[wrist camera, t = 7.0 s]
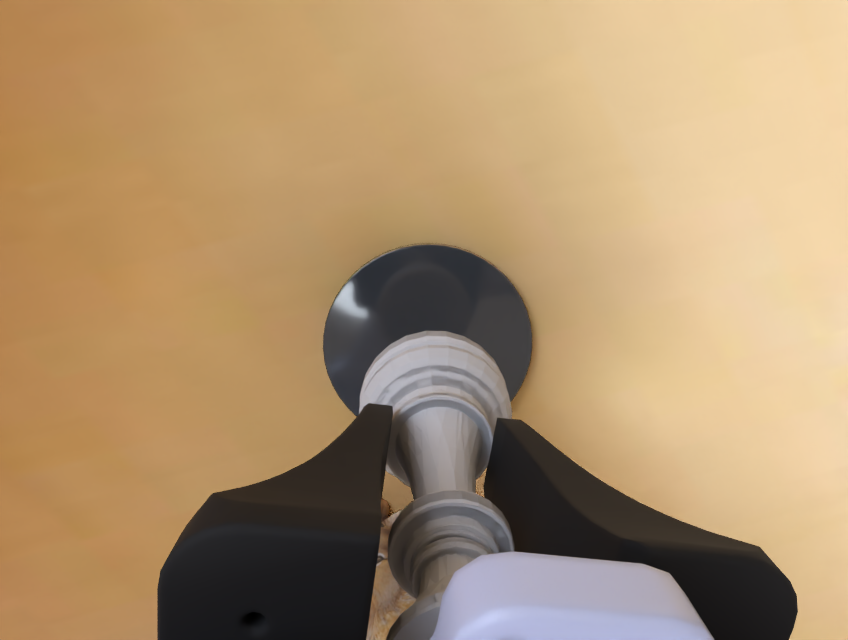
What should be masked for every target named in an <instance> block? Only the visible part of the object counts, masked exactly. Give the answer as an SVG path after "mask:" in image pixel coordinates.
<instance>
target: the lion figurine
mask: <svg viewBox="0 0 848 640" xmlns="http://www.w3.org/2000/svg"><path fill="white" fill-rule="evenodd" d="M401 511H402V510H400V511H398V512H396V513H394V514H392V515H391V516H390V517H388V513H389V505H388V503H387V501H385V500H383V499H382V498H381V516H382V518H381V534H380V544H379V551H378V558H377V565H376V573H375V580H374V587H373V594H372V601H371V609H370V616H369V623H368V630H367V637H366V640H386V638H387V635H388V632H389V629H390V628H391V627H392V625H393V624H394V623H395V621H396V620H397V619H398V617H399V616H400V615H401V613H403V612H404V611H405V610H407V609H408V608H409V607H410V606H412V605H413V604H414V602H415V601H416V600H417V599H415V598H413V597H412V596H410V595H409V594H408V593H407V592H406V591H404V590H403V589H402V588H401V587H400V586H399V584H398V583H397V581H396V580H395V578H394V577H393V575H392V573H391V570H390V567H389V563H388V537H389V534H390V530H391V527H392V524H393V523H394V521H395V520H396V518H397V517H398V515H399V514H400V512H401Z"/></svg>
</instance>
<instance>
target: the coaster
mask: <svg viewBox="0 0 848 640" xmlns="http://www.w3.org/2000/svg"><path fill="white" fill-rule="evenodd" d="M423 331H447V332H450V333H454V334H458V335H461V336H464V337H466V338H468V339H470V340H471V341H473V342H475V343H477V344H478V345H480V346H481V347H482V348H483V349H484V350H485V351H486V352H487V353H488V354H489V355H490V356H491V357H492V358H493V359H494V360H495V362H496V364H497V366H498V368H499V370H500V372H501V373H502V375H503V378H504V380H505V383H506V388H507V391H508V394H509V399H510V402H511V401H512V399H513V398H514V397H515V395H516V394H517V392H518V390H519V389H520V387H521V385H522V383H523V381H524V379H525V376H526V374H527V371H528V367H529V364H530V359H531V352H532V331H531V324H530V320H529V316H528V313H527V309H526V307H525V305H524V303H523V300H522V298H521V297H520V295H519V293H518V292H517V290H516V288H515V287H514V286H513V284H512V283H511V282H510V281H509V280H508V278H507V277H506V276H505V275H504V274H503V273H502V272H501V271H500V270H499V269H498V268H497V267H495V266H494V265H493V264H491V263H490V262H489V261H487V260H486V259H484V258H483V257H481V256H479V255H477V254H475V253H473V252H471V251H468V250H465V249H462V248H459V247H456V246H451V245H446V244H436V243H422V244H412V245H407V246H402V247H398V248H395V249H392V250H389V251H387V252H385V253H383V254H381V255H379V256H377V257H375V258H373V259H372V260H370V261H369V262H367V263H366V264H364V265H363V266H361V267H360V268H359V269H358V270H357V271H356V272H355V273H354V274H352V276H351V277H350V278H349V279H348V280H347V281H346V282H345V284H344V285H343V286H342V288H341V289H340V291H339V293H338V294H337V296H336V297H335V300H334V302H333V304H332V306H331V308H330V310H329V313H328V317H327V320H326V323H325V329H324V335H323V352H324V360H325V365H326V369H327V373H328V376H329V378H330V380H331V383H332V385H333V387H334V389H335V391H336V392H337V394H338V396H339V397H340V399H341V400H342V401H343V402H344V404H345V405H346V406H347V407H348V408H349V409H350V410H351V411H352V412H353V413H354V414H355V415H356V416H358V415H359V408H360V392H361V388H362V385H363V381H364V378H365V374H366V372H367V371H368V369H369V368H370V366H371V364H372V363H373V361H374V360H375V358H376V357H377V356H378V355H379V354H380V353H381V352H382V351H383V350H384V349H385V348H387V347H388V346H389V345H390V344H392V343H394V342H395V341H397V340H399V339H401V338H403V337H405V336H407V335H411V334H415V333H419V332H423Z"/></svg>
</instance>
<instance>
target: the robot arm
mask: <svg viewBox="0 0 848 640" xmlns="http://www.w3.org/2000/svg"><path fill="white" fill-rule="evenodd" d="M392 418H393V406H390V405H381V404H372V403H368V404H367V405H365V406H364V407H363V409H362V411H361V412H360V414H359V415H358V416H357V417H356V419H355V420H354V421H353V422H352V423H351V424H350V425H349V427H348V428H347V429H346V430H345V431H344V432H343V433H342V434H341V435H340V436H339V437H338V438H337V439H335V440H334V441H333V442H332V443H331V444H330V445H329V446H328V447H326V448H325V449H324V450H323V451H321V452H320V453H319V454H317V455H316V456H315V457H313V458H312V459H310V460H308V461H307V462H305V463H303V464H301V465H299V466H297V467H295V468H293V469H291V470H289V471H287V472H285V473H283V474H281V475H278V476H276V477H273V478H271V479H268V480H265V481H262V482H259V483H256V484H252V485H249V486H245V487H241V488H236V489H231V490H227V491H222V492H217V493H213V494H212V495H211V496H210V497H209V498H208V499H207V501H206V502H205V503H204V504H203V506H202V507H201V508H200V509H199V510H198V511H197V513H196V514H195V515H194V517H193V518H192V519H191V520H190V522H189V523H188V524H187V526H186V527H185V529H184V530H183V532H182V533H181V535H180V537H179V538H178V540H177V542H176V544H175V546H174V547H173V549H172V551H171V553H170V555H169V556H168V558H167V560H166V562H165V564H164V566H163V567H162V569H161V572H160V578H159V583H158V640H366V637H367V630H368V623H369V616H370V609H371V601H372V594H373V587H374V580H375V573H376V565H377V558H378V551H379V544H380V534H381V518H382V516H381V498H382V491H383V484H384V476H385V469H386V462H387V454H388V447H389V440H390V432H391V425H392ZM484 496H485V498H486V499H488V500H490V501H491V502H492V503H493V504H494V505H495V506H496V507H497V508H498V509H499V510H500V511H502V513H503V515H504V516H505V518H506V520H507V521H508V523H509V525H510V529H511V533H512V537H513V541H514V546H515V550H514V551H512V552H504V553H496V554H488V555H481V556H479V557H477V558H476V559H474V560H473V561H471V562H470V563H468V564H466V565H465V566H463V567H462V568H460V569H459V570H457V571H455V573H454V575H453V576H452V578H451V580H450V582H449V584H448V586H447V588H446V590H445V592H444V593H443V595H442V600H441V605H440V611H439V616H438V621H437V625H436V628H435V631H434V634H433V636H432V637H431V638H430V640H789V638H790V635H791V633H792V631H793V628H794V624H795V620H796V616H797V612H798V609H797V596H796V593H795V591H794V589H793V587H792V584H791V582H790V581H789V580H788V578H787V577H786V576H785V575H784V574H783V573H782V572H781V571H780V569H779V568H778V567H777V566H776V565H775V564H774V563H773V562H772V560H771V559H770V558H769V557H768V556H767V555H766V554H765V552H764V551H763V550H762V549H761V548H760V547H758V546H755V545H752V544H748V543H745V542H742V541H738V540H735V539H732V538H728V537H725V536H722V535H718V534H715V533H712V532H709V531H706V530H703V529H700V528H698V527H695V526H692V525H690V524H687V523H684V522H682V521H679V520H677V519H675V518H672V517H670V516H667V515H665V514H663V513H661V512H658V511H656V510H654V509H652V508H650V507H648V506H646V505H644V504H642V503H639V502H637V501H636V500H634V499H632V498H630V497H628V496H626V495H624V494H623V493H621V492H619V491H617V490H616V489H614V488H612V487H611V486H609V485H607V484H606V483H604V482H602V481H601V480H599V479H598V478H596V477H595V476H593V475H592V474H590V473H589V472H587V471H586V470H585V469H583V468H582V467H580V466H579V465H578V464H576V463H575V462H574V461H572V460H571V459H570V458H568V457H567V456H566V455H564V454H563V453H562V452H561V451H559V450H558V449H557V448H556V447H554V446H553V445H552V444H551V443H549V442H548V441H547V440H546V439H545V438H543V437H542V436H541V435H540V434H539V433H537V432H536V431H535V430H534V429H532V428H531V427H530V426H528V425H527V424H526V423H524V422H523V421H521V420H515V419H506V418H497V421H496V426H495V431H494V436H493V442H492V447H491V453H490V458H489V462H488V466H487V471H486V476H485V482H484Z"/></svg>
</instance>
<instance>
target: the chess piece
mask: <svg viewBox="0 0 848 640" xmlns="http://www.w3.org/2000/svg"><path fill="white" fill-rule="evenodd" d="M368 403H372V404H381V405H390V406H393V418H392V425H391V432H390V440H389V447H388V454H387V462H386V469H385V470H386V471H387V472H388V473H389V474H391V475H393V476H395V477H397V478H398V479H399V480H400V481H402V482H403V483H404V484H405V485H407V486H409V487H411V490H412V494H413V498H414V501H412V502H411V503H410V504H409V505H408V506H406V507H405V508H404V509H403V510H402V511H401V512H400V514H399V515H398V517H397V518H396V520H395V521H394V523H393V524H392V527H391V530H390V534H389V537H388V563H389V567H390V570H391V573H392V575H393V577H394V578H395V580H396V581H397V583H398V584H399V586H400V587H401V588H402V589H403V590H404V591H406V592H407V593H408V594H409V595H410V596H412V597H413V598H415V599H417V600H416V601H415V602H414V604H413V605H412V606H410V607H409V608H408V609H407V610H405V611H404V612H403V613H401V615H400V616H399V617H398V619H397V620H396V621H395V623H394V624H393V625H392V627H391V628H390V629H389V632H388V635H387V638H386V640H430V638H431V637H432V636H433V634H434V631H435V628H436V625H437V621H438V616H439V611H440V605H441V600H442V595H443V593H444V592H445V590H446V588H447V586H448V584H449V582H450V580H451V578H452V576H453V575H454V573H455V571H457V570H459V569H460V568H462V567H463V566H465V565H466V564H468V563H470V562H471V561H473V560H474V559H476V558H477V557H479V556H481V555H488V554H496V553H504V552H512V551H514V550H515V546H514V541H513V537H512V533H511V529H510V525H509V523H508V521H507V520H506V518H505V516H504V515H503V513H502V511H500V510H499V509H498V508H497V507H496V506H495V505H494V504H493V503H492V502H491V501H490V500H488V499H486V498H484V497H482V496H480V495H478V494H476V493H475V492H476V479H477V478H479V477H480V476H481V474H482V473H483V472H484V470H485V469H486V468H487V466H488V462H489V458H490V453H491V447H492V442H493V436H494V431H495V426H496V421H497V418H506V419H512V408H511V403H510V399H509V394H508V391H507V388H506V383H505V380H504V378H503V375H502V373H501V372H500V370H499V368H498V366H497V364H496V362H495V360H494V359H493V358H492V357H491V356H490V355H489V354H488V353H487V352H486V351H485V350H484V349H483V348H482V347H481V346H480V345H478V344H477V343H475V342H473V341H471V340H470V339H468V338H466V337H464V336H461V335H458V334H454V333H450V332H447V331H423V332H419V333H415V334H411V335H407V336H405V337H403V338H401V339H399V340H397V341H395V342H394V343H392V344H390V345H389V346H388V347H387V348H385V349H384V350H383V351H382V352H381V353H380V354H379V355H378V356H377V357H376V358H375V360H374V361H373V363H372V364H371V366H370V368H369V369H368V371H367V372H366V374H365V378H364V381H363V385H362V388H361V392H360V408H359V414H360V412H361V411H362V409H363V407H364V406H365V405H367V404H368Z"/></svg>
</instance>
